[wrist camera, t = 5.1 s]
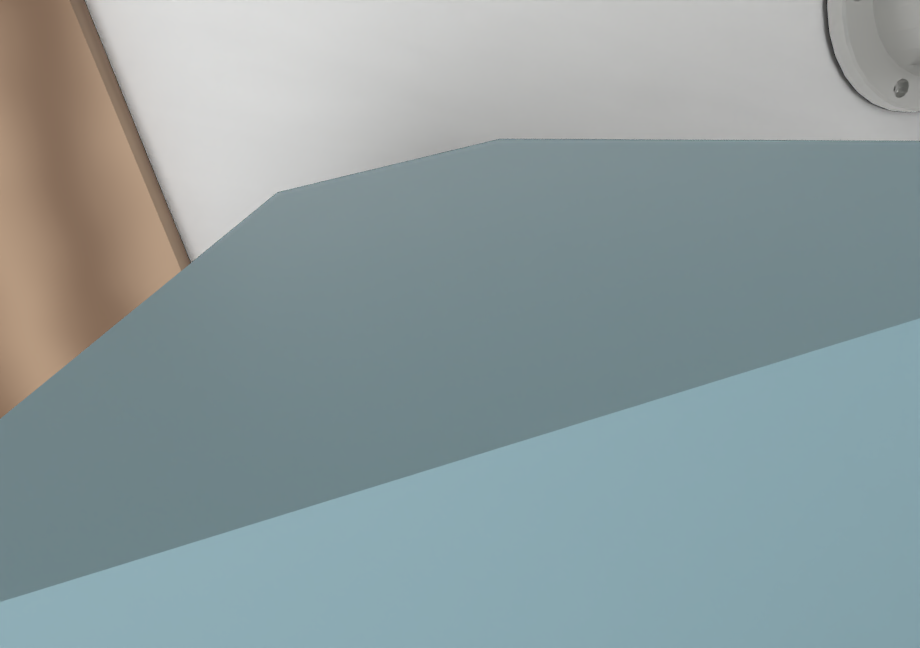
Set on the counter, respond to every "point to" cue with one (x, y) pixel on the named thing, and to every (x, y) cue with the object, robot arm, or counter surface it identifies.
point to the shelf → (69, 197)
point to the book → (500, 414)
